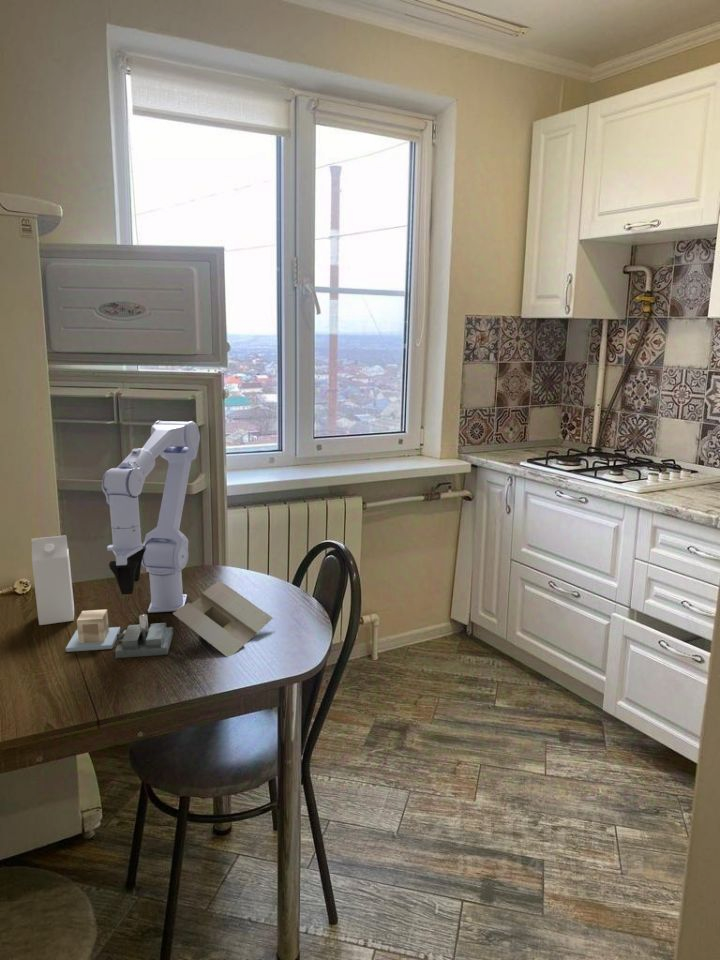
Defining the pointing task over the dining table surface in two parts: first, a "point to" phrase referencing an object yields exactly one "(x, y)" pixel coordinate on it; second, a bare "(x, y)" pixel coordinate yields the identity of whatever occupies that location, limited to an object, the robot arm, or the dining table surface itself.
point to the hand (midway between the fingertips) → (130, 587)
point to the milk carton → (52, 580)
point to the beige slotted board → (223, 618)
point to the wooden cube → (92, 626)
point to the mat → (106, 644)
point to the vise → (144, 639)
